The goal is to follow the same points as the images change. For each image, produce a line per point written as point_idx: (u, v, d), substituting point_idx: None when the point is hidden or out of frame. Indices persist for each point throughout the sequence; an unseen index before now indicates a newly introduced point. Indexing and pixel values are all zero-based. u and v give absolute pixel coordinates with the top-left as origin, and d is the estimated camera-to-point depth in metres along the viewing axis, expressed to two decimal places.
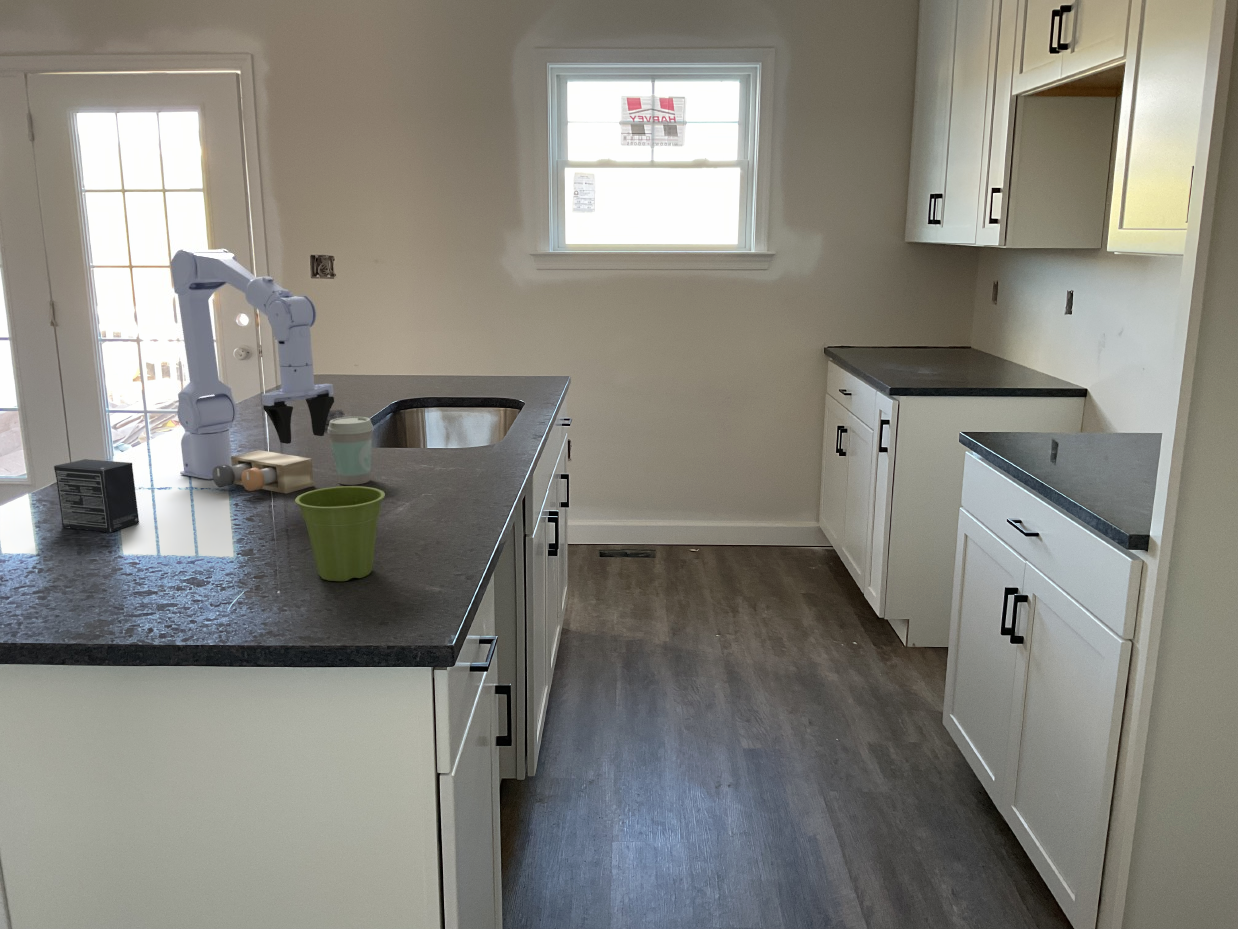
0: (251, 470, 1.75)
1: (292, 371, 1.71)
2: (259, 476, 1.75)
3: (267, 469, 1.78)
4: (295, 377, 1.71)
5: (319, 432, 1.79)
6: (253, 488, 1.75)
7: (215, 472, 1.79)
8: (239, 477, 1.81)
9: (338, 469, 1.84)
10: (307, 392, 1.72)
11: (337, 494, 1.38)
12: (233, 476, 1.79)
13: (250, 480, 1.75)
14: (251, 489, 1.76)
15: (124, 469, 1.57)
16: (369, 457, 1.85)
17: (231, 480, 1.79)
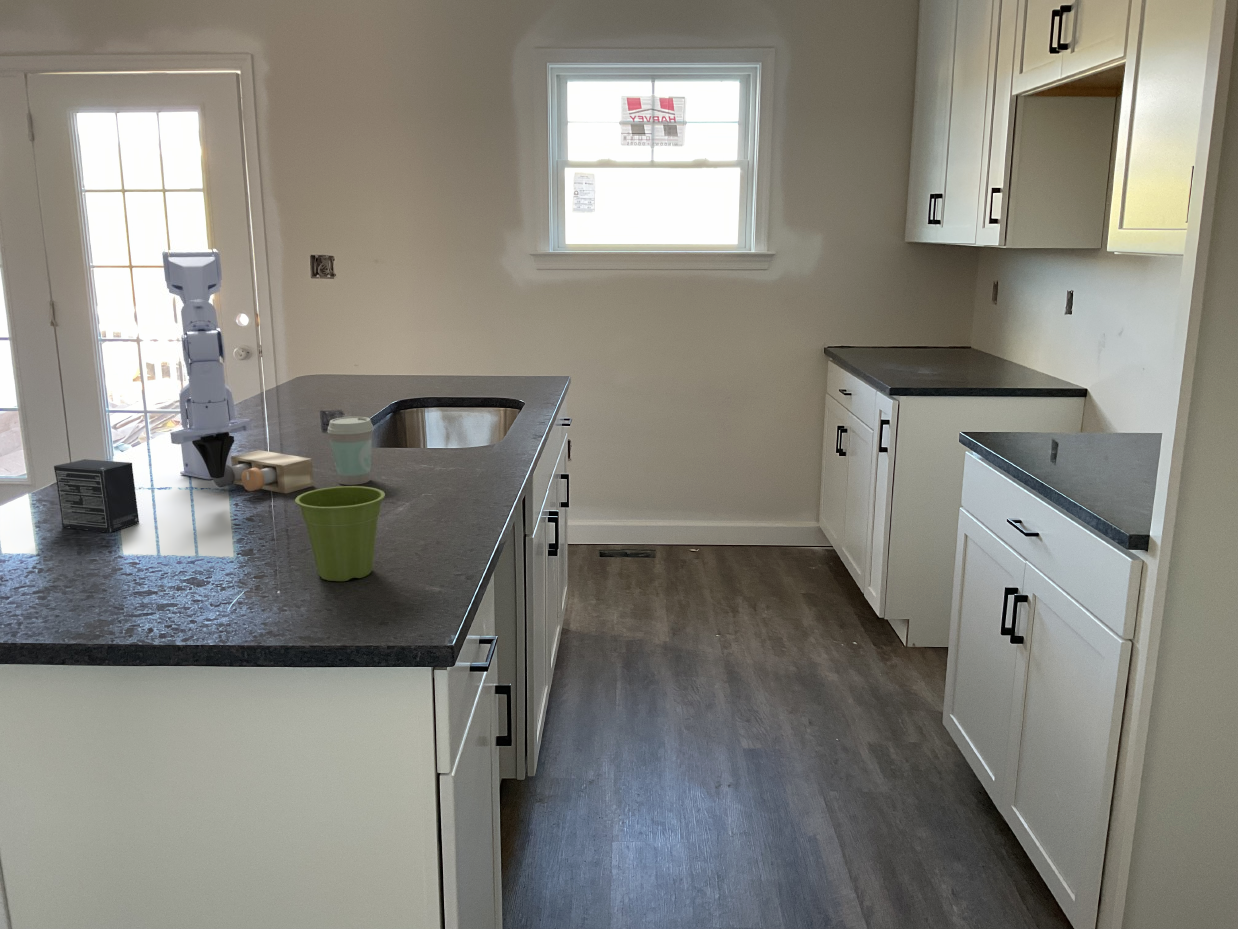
0: (251, 470, 1.75)
1: (203, 408, 1.64)
2: (259, 476, 1.75)
3: (267, 469, 1.78)
4: (206, 414, 1.65)
5: None
6: (253, 488, 1.75)
7: None
8: (239, 477, 1.81)
9: (338, 469, 1.84)
10: (219, 429, 1.65)
11: (337, 494, 1.38)
12: (233, 476, 1.79)
13: (250, 480, 1.75)
14: (251, 489, 1.76)
15: (124, 469, 1.57)
16: (369, 457, 1.85)
17: (231, 480, 1.79)
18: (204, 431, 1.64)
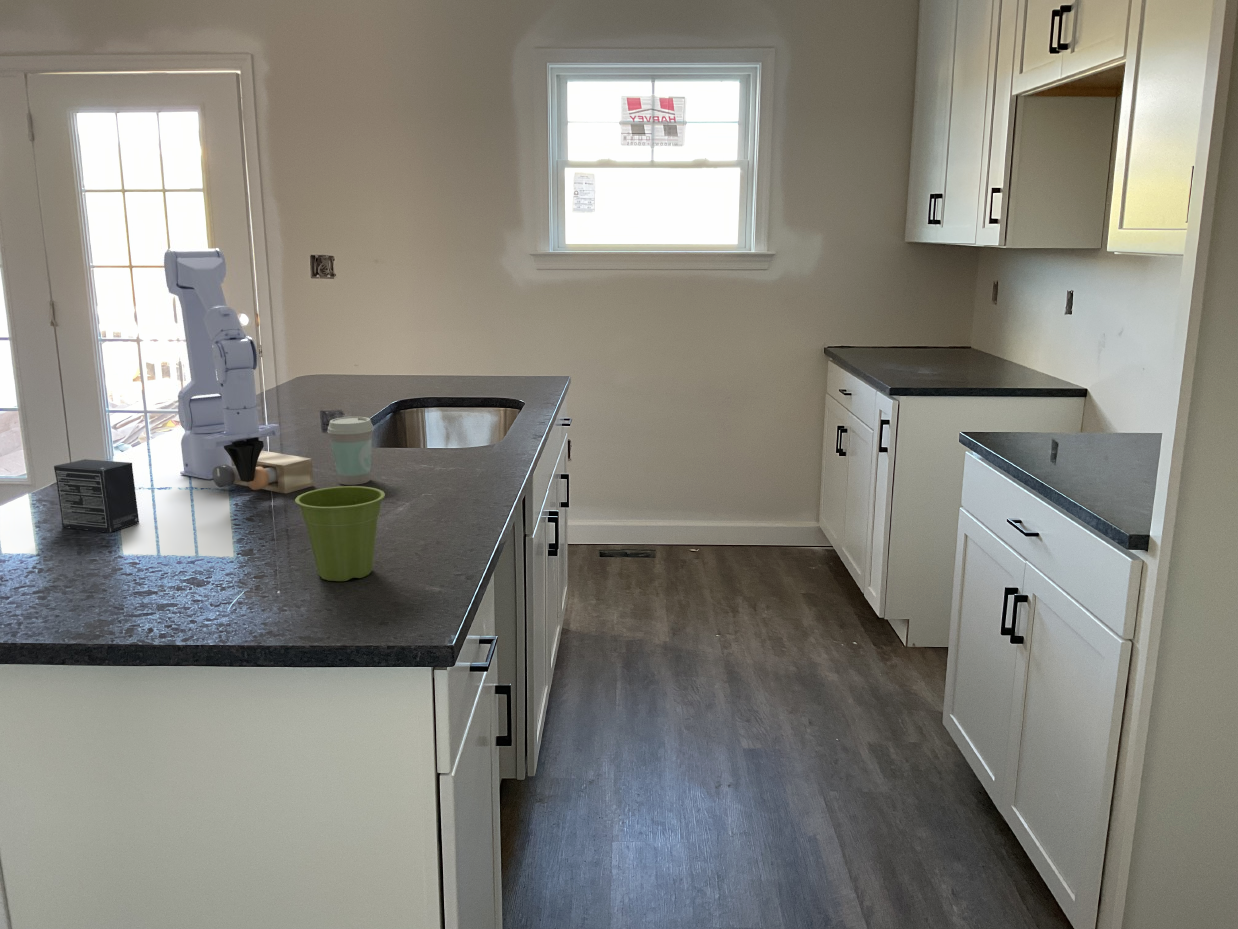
0: (256, 469, 1.76)
1: (235, 414, 1.70)
2: (264, 475, 1.76)
3: (271, 468, 1.79)
4: (238, 420, 1.70)
5: None
6: (258, 487, 1.76)
7: (215, 472, 1.79)
8: (239, 477, 1.81)
9: (338, 469, 1.84)
10: (250, 435, 1.71)
11: (337, 494, 1.38)
12: (233, 476, 1.79)
13: (255, 479, 1.76)
14: (256, 488, 1.76)
15: (124, 469, 1.57)
16: (369, 457, 1.85)
17: (231, 480, 1.79)
18: (236, 436, 1.70)
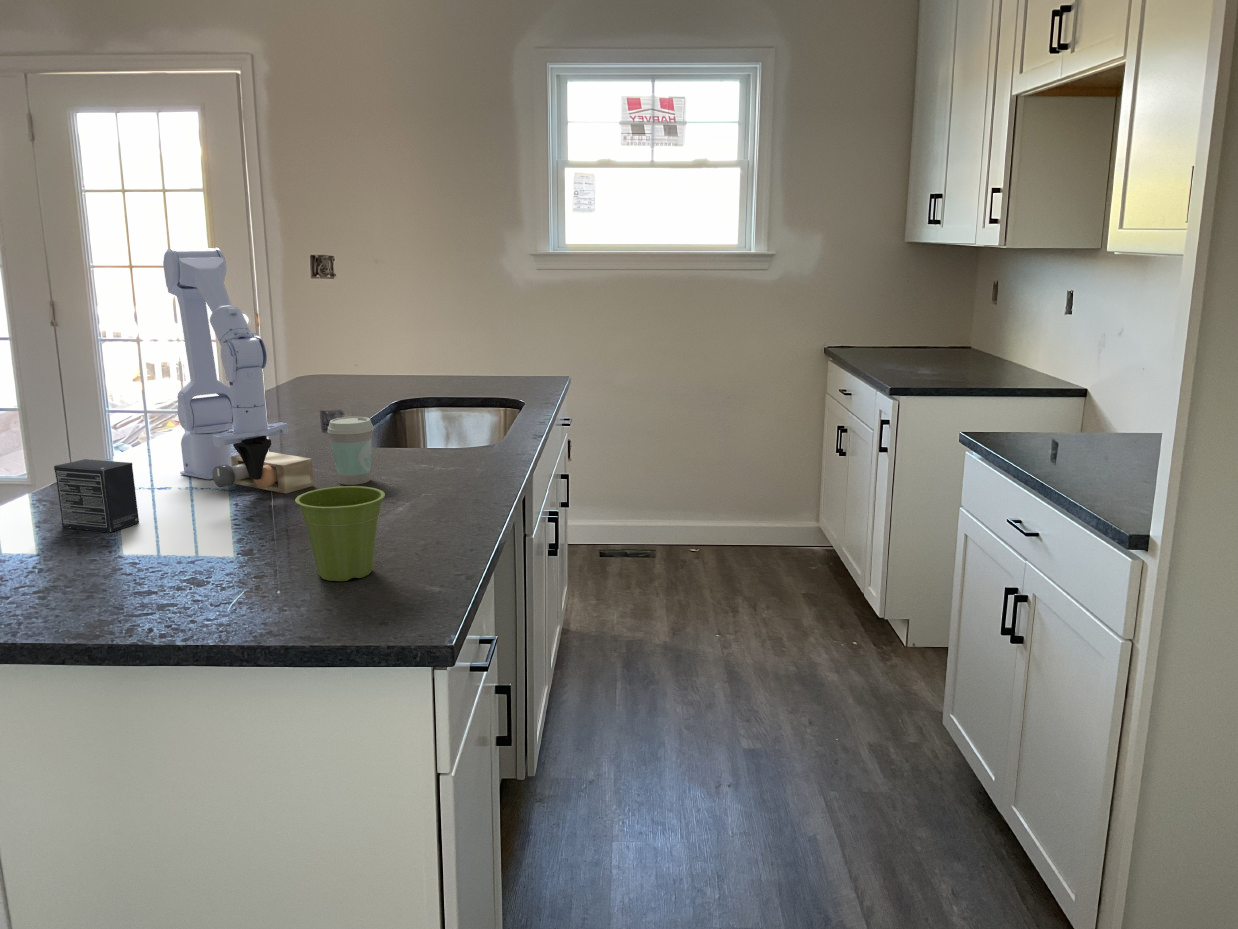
0: (263, 467, 1.77)
1: (244, 412, 1.71)
2: (271, 473, 1.77)
3: None
4: (246, 418, 1.72)
5: None
6: (265, 485, 1.77)
7: (215, 472, 1.79)
8: (239, 477, 1.81)
9: (338, 469, 1.84)
10: (259, 433, 1.72)
11: (337, 494, 1.38)
12: (233, 476, 1.79)
13: (262, 477, 1.77)
14: (263, 486, 1.78)
15: (124, 469, 1.57)
16: (369, 457, 1.85)
17: (231, 480, 1.79)
18: (244, 435, 1.71)
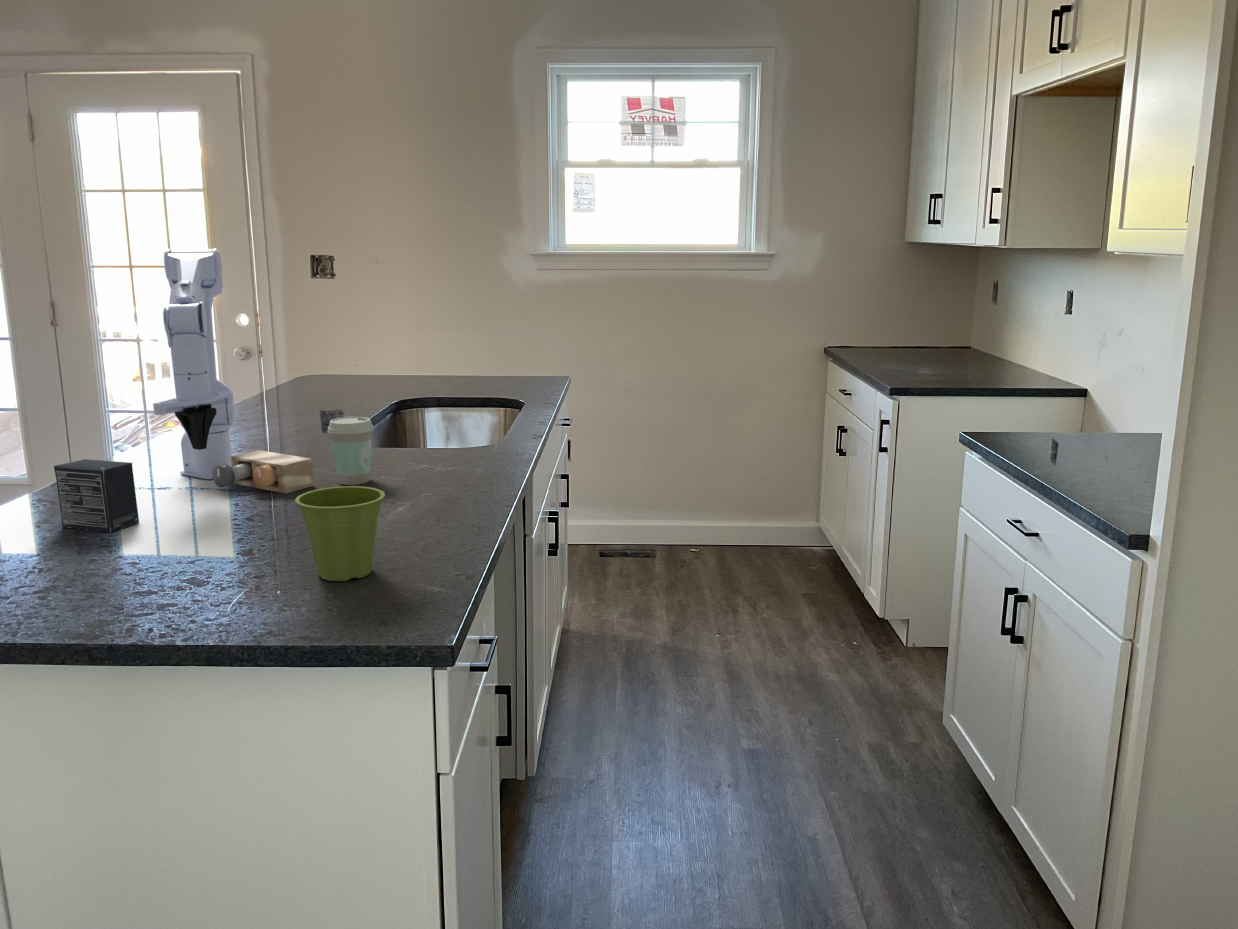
0: (263, 467, 1.77)
1: (186, 379, 1.67)
2: (271, 473, 1.77)
3: None
4: (189, 385, 1.67)
5: None
6: (265, 485, 1.77)
7: (215, 472, 1.79)
8: (239, 477, 1.81)
9: (338, 469, 1.84)
10: (202, 401, 1.68)
11: (337, 494, 1.38)
12: (233, 476, 1.79)
13: (262, 478, 1.77)
14: (263, 486, 1.78)
15: (124, 469, 1.57)
16: (369, 457, 1.85)
17: (231, 480, 1.79)
18: (186, 402, 1.67)
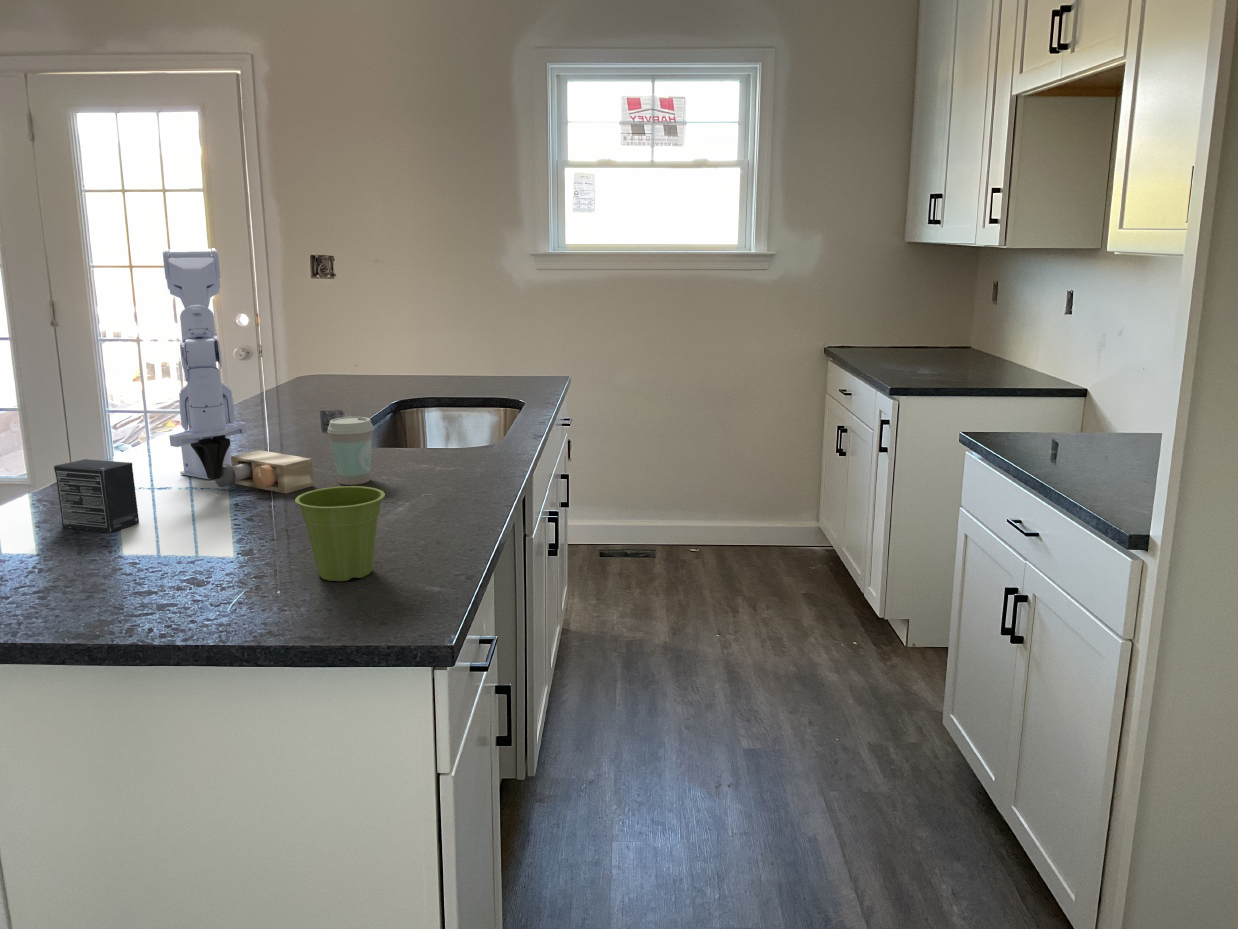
0: (263, 467, 1.77)
1: (201, 412, 1.72)
2: (271, 473, 1.77)
3: None
4: (204, 418, 1.72)
5: None
6: (265, 485, 1.77)
7: None
8: (240, 477, 1.81)
9: (338, 469, 1.84)
10: (216, 432, 1.73)
11: (337, 494, 1.38)
12: (234, 476, 1.79)
13: (262, 478, 1.77)
14: (263, 486, 1.78)
15: (124, 469, 1.57)
16: (369, 457, 1.85)
17: (232, 480, 1.79)
18: (202, 434, 1.72)
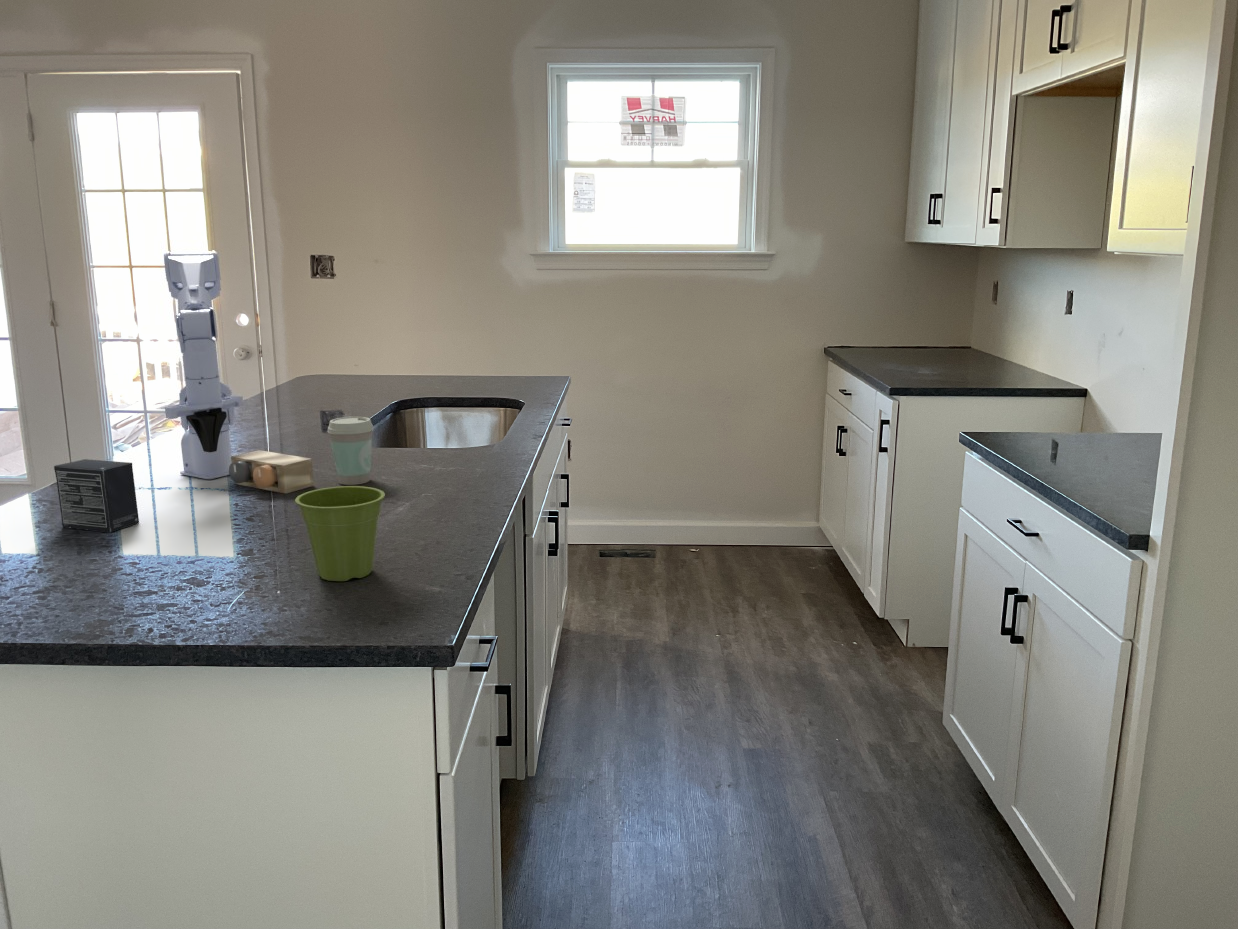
0: (263, 467, 1.77)
1: (197, 384, 1.71)
2: (271, 473, 1.77)
3: None
4: (199, 390, 1.71)
5: None
6: (265, 485, 1.77)
7: (232, 468, 1.82)
8: None
9: (338, 469, 1.84)
10: (212, 405, 1.71)
11: (337, 494, 1.38)
12: (249, 472, 1.82)
13: (262, 478, 1.77)
14: (263, 486, 1.78)
15: (124, 469, 1.57)
16: (369, 457, 1.85)
17: (247, 476, 1.81)
18: (197, 406, 1.71)
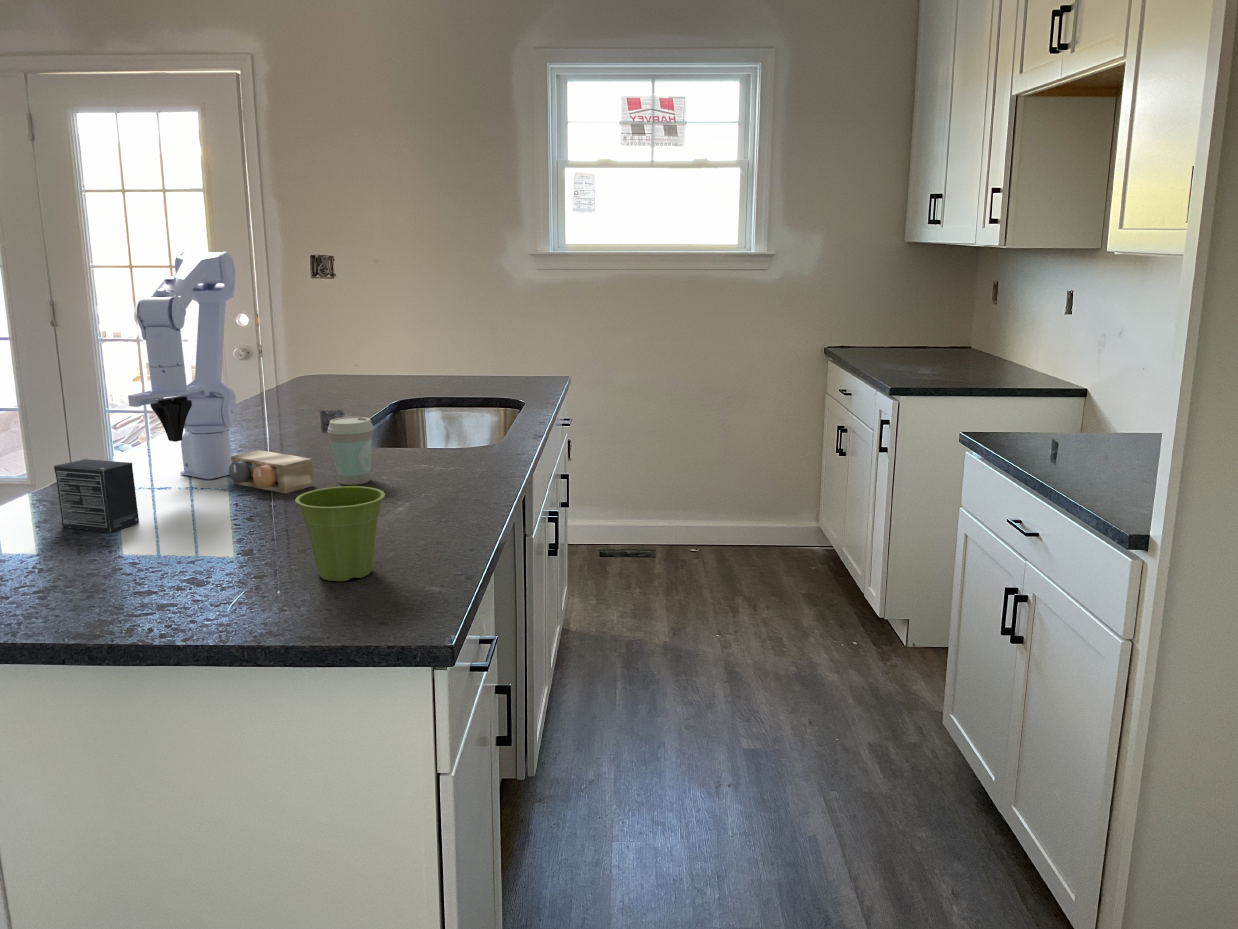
0: (263, 467, 1.77)
1: (160, 372, 1.69)
2: (271, 473, 1.77)
3: None
4: (163, 378, 1.69)
5: None
6: (265, 485, 1.77)
7: (232, 468, 1.82)
8: None
9: (338, 469, 1.84)
10: (176, 393, 1.70)
11: (337, 494, 1.38)
12: (249, 472, 1.82)
13: (262, 478, 1.77)
14: (263, 486, 1.78)
15: (124, 469, 1.57)
16: (369, 457, 1.85)
17: (247, 476, 1.81)
18: (161, 394, 1.69)
